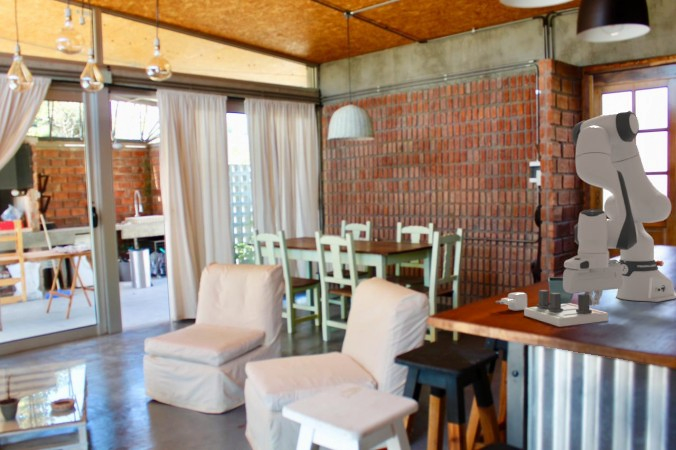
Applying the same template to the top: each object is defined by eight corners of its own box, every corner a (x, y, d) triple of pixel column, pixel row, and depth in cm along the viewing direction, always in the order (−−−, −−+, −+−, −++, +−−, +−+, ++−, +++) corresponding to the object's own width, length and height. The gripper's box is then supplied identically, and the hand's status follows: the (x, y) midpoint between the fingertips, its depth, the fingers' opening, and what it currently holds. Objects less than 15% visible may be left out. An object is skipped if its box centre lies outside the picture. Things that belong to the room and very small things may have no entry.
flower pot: (573, 301, 215) (573, 277, 214) (575, 306, 207) (574, 281, 206) (548, 301, 218) (548, 277, 217) (548, 305, 209) (548, 280, 209)
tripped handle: (584, 310, 186) (584, 293, 186) (591, 312, 183) (591, 295, 183) (576, 311, 185) (575, 294, 185) (583, 313, 182) (582, 296, 182)
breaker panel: (570, 310, 200) (569, 302, 200) (608, 320, 183) (608, 312, 183) (524, 315, 195) (524, 307, 195) (559, 326, 178) (558, 318, 178)
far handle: (545, 306, 196) (544, 289, 195) (551, 307, 193) (550, 290, 192) (536, 307, 195) (536, 290, 194) (542, 308, 192) (542, 291, 191)
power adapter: (502, 313, 200) (502, 296, 200) (493, 311, 204) (493, 294, 204) (529, 309, 204) (528, 293, 203) (520, 307, 208) (519, 291, 208)
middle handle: (556, 309, 190) (556, 292, 190) (562, 311, 187) (562, 293, 187) (548, 310, 189) (547, 293, 189) (554, 312, 186) (554, 294, 186)
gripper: (612, 258, 190) (613, 300, 191) (559, 262, 184) (560, 306, 185) (627, 260, 184) (628, 303, 185) (572, 264, 178) (573, 309, 179)
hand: (593, 304), depth 185 cm, fingers closed
